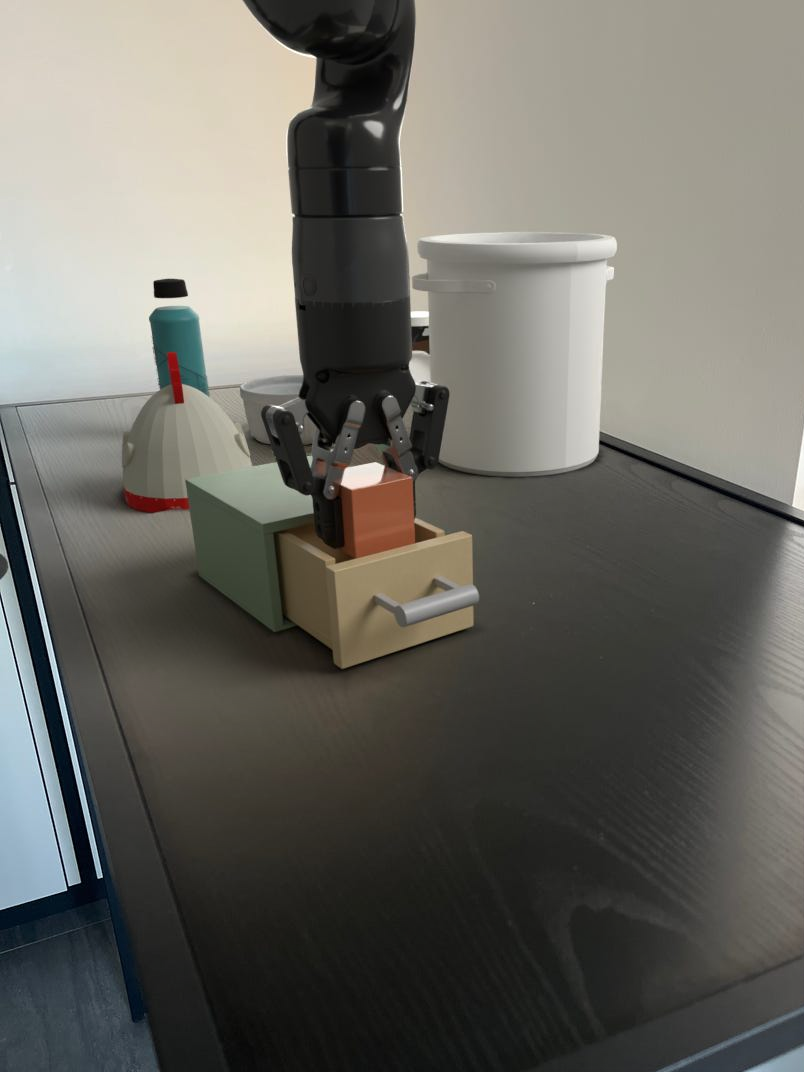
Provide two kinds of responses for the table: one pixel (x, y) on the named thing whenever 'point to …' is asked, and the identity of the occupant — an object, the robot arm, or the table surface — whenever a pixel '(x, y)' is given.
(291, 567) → the drawer
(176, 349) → the beverage bottle
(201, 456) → the kitchen timer
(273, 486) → the cabinet
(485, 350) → the bucket
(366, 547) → the block
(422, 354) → the spread jar
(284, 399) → the ramekin
